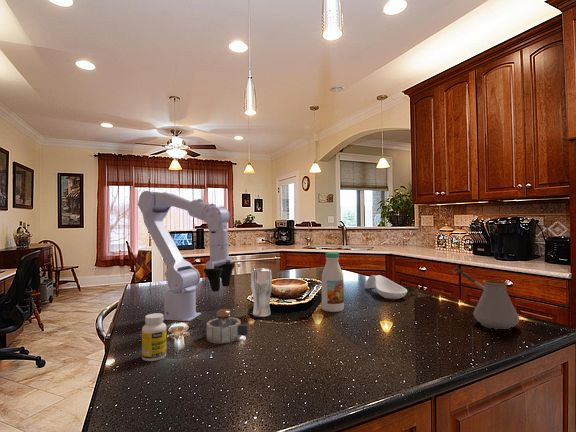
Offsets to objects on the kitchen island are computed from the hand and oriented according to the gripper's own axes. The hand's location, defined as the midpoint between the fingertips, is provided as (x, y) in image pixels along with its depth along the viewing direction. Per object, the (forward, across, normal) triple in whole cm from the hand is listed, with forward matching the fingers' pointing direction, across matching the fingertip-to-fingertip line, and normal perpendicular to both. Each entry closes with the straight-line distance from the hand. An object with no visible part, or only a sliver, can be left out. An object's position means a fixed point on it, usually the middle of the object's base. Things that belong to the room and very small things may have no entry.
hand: (220, 288), depth 102 cm
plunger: (+10, -12, -6) cm, 17 cm away
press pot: (+11, -12, -7) cm, 17 cm away
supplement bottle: (+11, -27, +5) cm, 29 cm away
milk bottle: (+12, +20, -33) cm, 40 cm away
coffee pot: (+14, +16, -79) cm, 81 cm away
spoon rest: (+13, +46, -51) cm, 70 cm away
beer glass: (+11, +10, -10) cm, 18 cm away
